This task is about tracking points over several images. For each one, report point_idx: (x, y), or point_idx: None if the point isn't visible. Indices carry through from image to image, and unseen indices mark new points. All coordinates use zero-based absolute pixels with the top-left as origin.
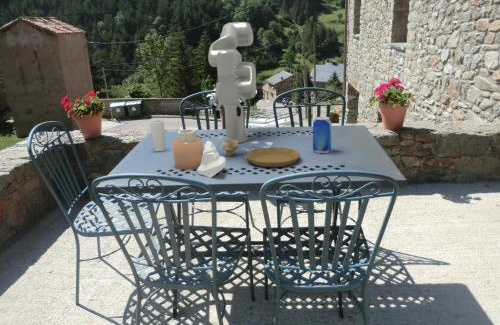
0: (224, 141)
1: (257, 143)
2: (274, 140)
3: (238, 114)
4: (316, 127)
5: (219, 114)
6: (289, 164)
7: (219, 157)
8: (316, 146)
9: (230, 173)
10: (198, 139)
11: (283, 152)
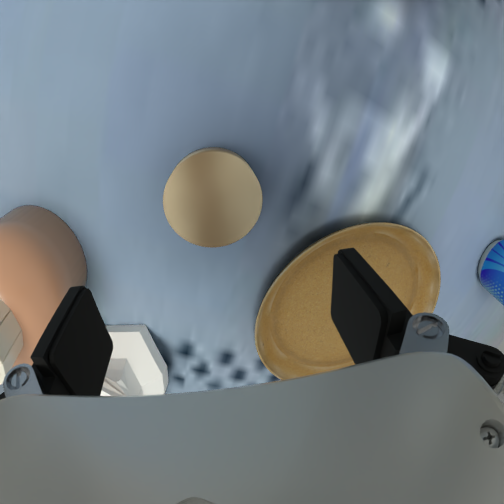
0: (178, 181)
1: (394, 36)
2: (460, 43)
3: (339, 324)
4: None
5: (99, 381)
6: None
7: (143, 393)
8: (488, 285)
9: (180, 378)
10: (29, 330)
11: (417, 253)
